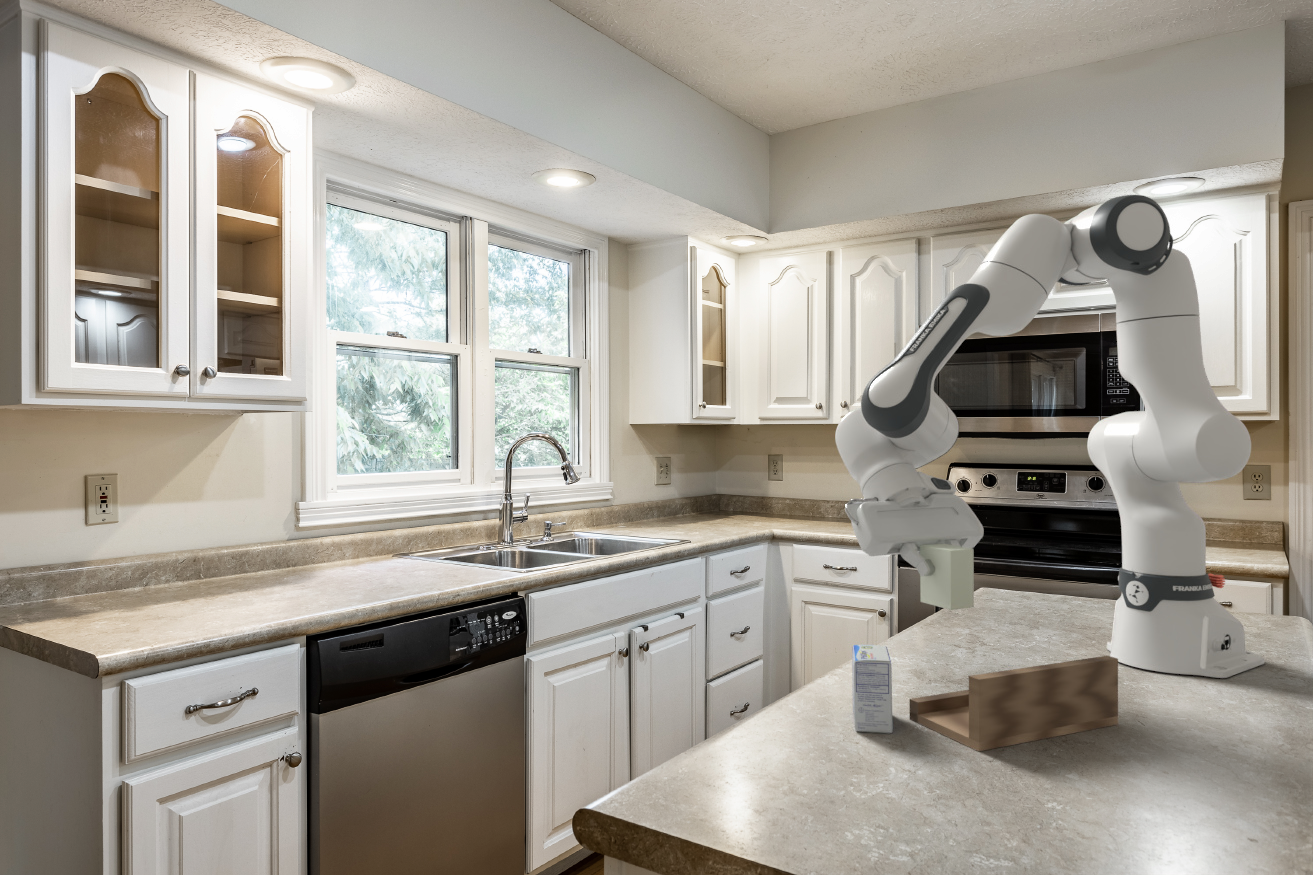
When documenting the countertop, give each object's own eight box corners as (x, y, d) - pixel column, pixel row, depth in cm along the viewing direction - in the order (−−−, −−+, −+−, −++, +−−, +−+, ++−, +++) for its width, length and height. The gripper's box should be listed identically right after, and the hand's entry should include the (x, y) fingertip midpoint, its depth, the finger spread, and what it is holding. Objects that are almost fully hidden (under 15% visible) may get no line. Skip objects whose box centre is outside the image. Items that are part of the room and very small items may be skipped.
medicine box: (892, 735, 98) (892, 661, 98) (853, 732, 99) (853, 659, 99) (887, 712, 105) (887, 644, 105) (851, 710, 106) (851, 643, 106)
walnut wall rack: (1040, 696, 112) (1040, 637, 112) (1118, 724, 101) (1118, 658, 101) (909, 718, 103) (909, 654, 103) (978, 751, 92) (978, 679, 92)
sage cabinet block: (942, 599, 119) (942, 543, 119) (973, 607, 113) (973, 548, 113) (920, 601, 117) (920, 545, 117) (950, 609, 112) (950, 550, 112)
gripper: (849, 485, 119) (894, 563, 110) (960, 481, 127) (1011, 553, 118) (831, 514, 123) (873, 591, 114) (940, 508, 131) (988, 580, 122)
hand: (944, 572), depth 116 cm, fingers closed on sage cabinet block, 4 cm apart
